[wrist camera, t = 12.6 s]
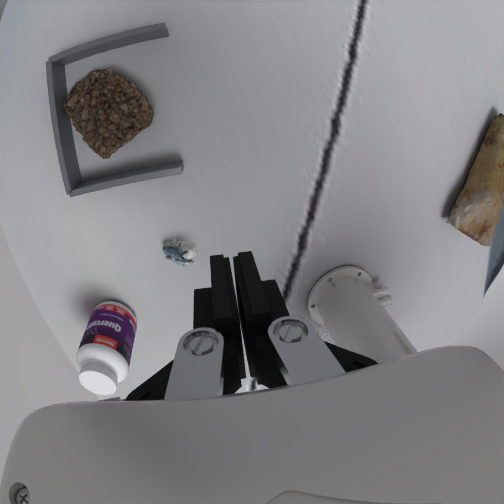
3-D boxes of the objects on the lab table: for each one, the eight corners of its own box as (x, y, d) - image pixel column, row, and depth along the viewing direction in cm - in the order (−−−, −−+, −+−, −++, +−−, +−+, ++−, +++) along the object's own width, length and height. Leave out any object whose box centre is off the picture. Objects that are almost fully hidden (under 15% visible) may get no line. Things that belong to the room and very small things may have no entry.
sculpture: (212, 281, 46) (214, 304, 40) (136, 265, 42) (128, 287, 37) (229, 225, 42) (234, 244, 37) (146, 205, 38) (139, 221, 33)
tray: (168, 30, 27) (164, 22, 24) (183, 167, 36) (181, 173, 33) (59, 62, 26) (45, 59, 22) (78, 189, 35) (67, 197, 31)
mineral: (516, 106, 29) (528, 132, 34) (477, 98, 37) (494, 122, 41) (477, 241, 38) (492, 251, 42) (439, 220, 46) (459, 232, 50)
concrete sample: (164, 123, 33) (159, 125, 29) (101, 164, 34) (88, 173, 30) (125, 52, 28) (115, 45, 23) (63, 97, 29) (46, 97, 24)
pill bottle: (131, 296, 44) (113, 364, 31) (142, 333, 48) (133, 400, 35) (87, 299, 43) (61, 363, 30) (101, 335, 47) (84, 399, 34)
